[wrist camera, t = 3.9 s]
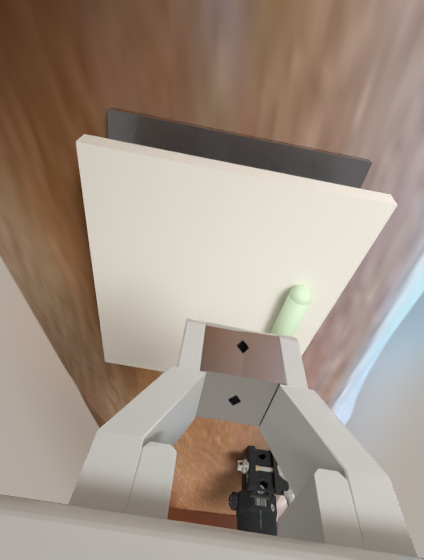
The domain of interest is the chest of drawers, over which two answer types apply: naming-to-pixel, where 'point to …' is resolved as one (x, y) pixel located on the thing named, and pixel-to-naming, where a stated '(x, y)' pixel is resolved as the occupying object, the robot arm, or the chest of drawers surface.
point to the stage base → (236, 148)
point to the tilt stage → (214, 247)
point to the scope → (259, 492)
